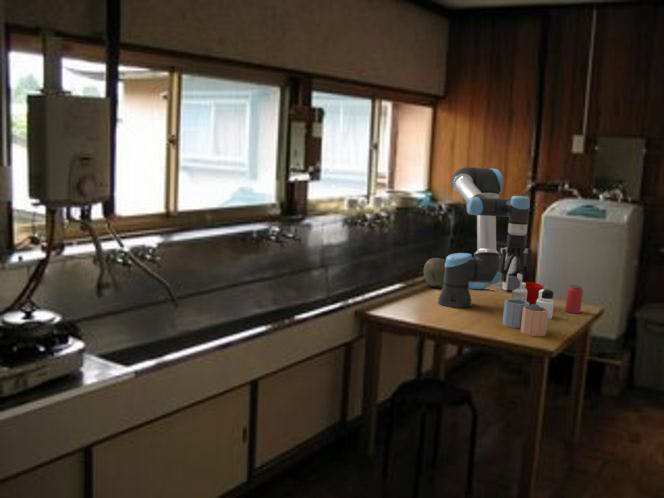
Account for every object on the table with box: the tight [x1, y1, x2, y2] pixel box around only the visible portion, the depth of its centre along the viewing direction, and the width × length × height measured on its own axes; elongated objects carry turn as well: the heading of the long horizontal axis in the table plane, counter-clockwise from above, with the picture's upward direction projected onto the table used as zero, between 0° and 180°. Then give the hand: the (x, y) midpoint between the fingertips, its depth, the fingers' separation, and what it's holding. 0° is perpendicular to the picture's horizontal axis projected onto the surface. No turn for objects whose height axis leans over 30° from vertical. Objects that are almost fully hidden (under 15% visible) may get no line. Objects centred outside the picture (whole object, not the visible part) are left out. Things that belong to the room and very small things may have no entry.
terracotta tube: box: [519, 306, 549, 337], centre depth 296 cm, size 10×10×10 cm
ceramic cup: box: [523, 281, 544, 306], centre depth 347 cm, size 13×17×10 cm
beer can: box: [565, 284, 584, 314], centre depth 337 cm, size 7×7×12 cm
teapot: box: [469, 282, 490, 290], centre depth 379 cm, size 15×15×10 cm
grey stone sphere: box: [422, 257, 446, 289], centre depth 374 cm, size 14×14×15 cm
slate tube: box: [501, 298, 529, 329], centre depth 306 cm, size 10×10×10 cm
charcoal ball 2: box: [527, 304, 542, 311], centre depth 296 cm, size 6×6×6 cm
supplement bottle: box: [511, 281, 527, 301], centre depth 333 cm, size 7×7×13 cm
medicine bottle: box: [536, 288, 555, 320], centre depth 325 cm, size 7×7×12 cm
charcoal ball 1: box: [507, 275, 520, 291], centre depth 304 cm, size 6×6×6 cm
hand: (511, 289), depth 304 cm, fingers closed on charcoal ball 1, 6 cm apart
